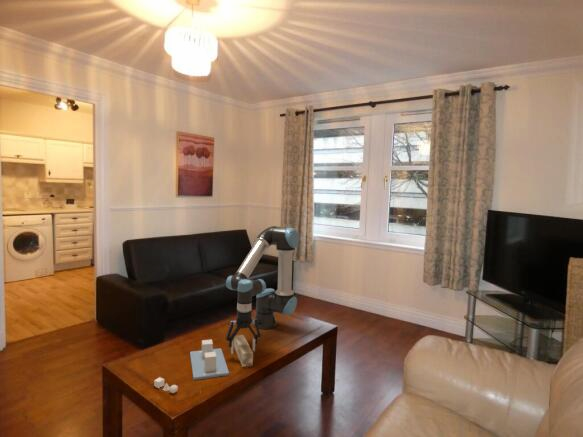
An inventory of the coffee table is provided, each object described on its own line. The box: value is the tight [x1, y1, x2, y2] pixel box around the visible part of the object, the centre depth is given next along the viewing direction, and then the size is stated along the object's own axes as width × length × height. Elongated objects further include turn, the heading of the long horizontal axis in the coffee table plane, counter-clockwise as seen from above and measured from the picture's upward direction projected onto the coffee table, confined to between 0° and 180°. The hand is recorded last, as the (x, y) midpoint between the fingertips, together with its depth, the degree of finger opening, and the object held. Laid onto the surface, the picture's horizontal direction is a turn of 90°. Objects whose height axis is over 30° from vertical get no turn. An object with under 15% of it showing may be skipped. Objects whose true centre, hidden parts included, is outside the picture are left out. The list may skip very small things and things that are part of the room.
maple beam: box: [233, 334, 254, 368], centre depth 181 cm, size 5×22×7 cm, turn 20°
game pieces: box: [153, 376, 179, 395], centre depth 148 cm, size 12×3×3 cm, turn 61°
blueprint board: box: [189, 339, 230, 381], centre depth 171 cm, size 16×26×8 cm, turn 20°
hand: (242, 351), depth 181 cm, fingers open, 11 cm apart
